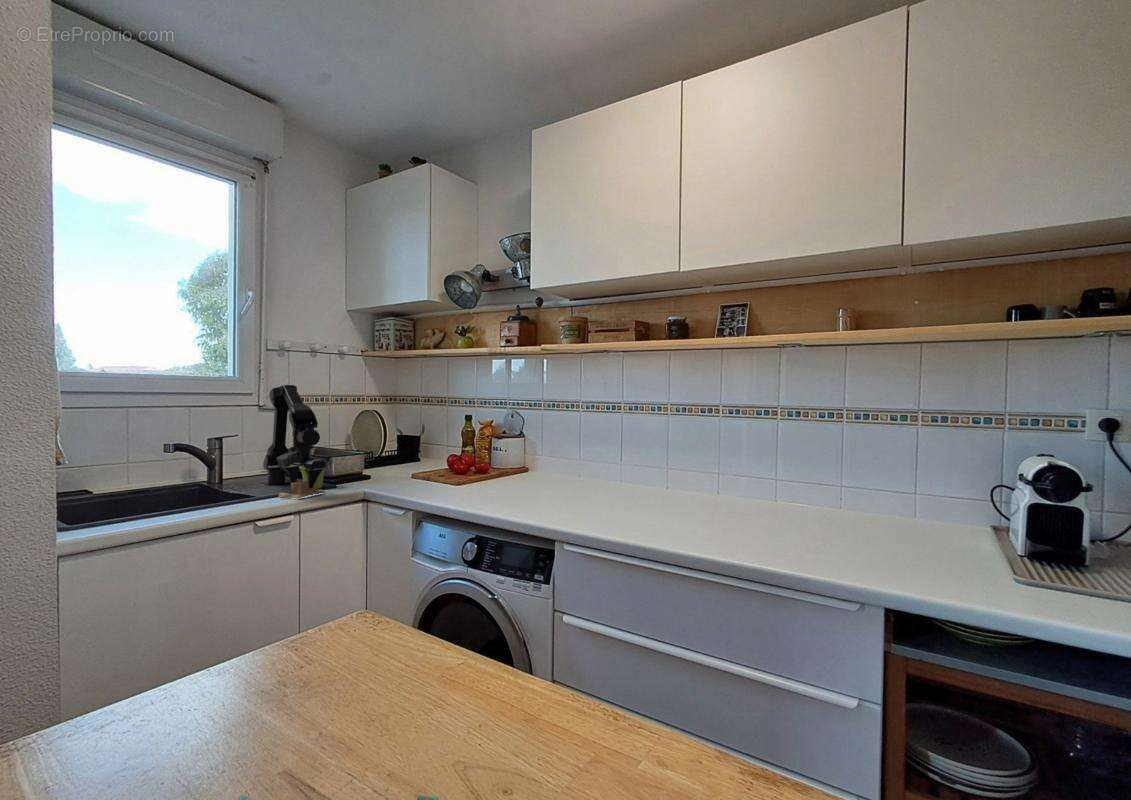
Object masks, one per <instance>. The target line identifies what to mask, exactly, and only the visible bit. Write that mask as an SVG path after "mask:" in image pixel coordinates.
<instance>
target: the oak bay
mask: <svg viewBox="0 0 1131 800" xmlns="http://www.w3.org/2000/svg"><path fill="white" fill-rule="evenodd" d="M319 493H325V494H326V490H324V489H319V488H318V489H313V492H311V493H306V494H301V495H295V494H291V493H286V492H278V498H279V497H283V498H282V499H287V498H297V499H298V498H301V497H305V496H308V495H313V494H319Z"/></svg>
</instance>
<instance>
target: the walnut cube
mask: <svg viewBox="0 0 1131 800" xmlns="http://www.w3.org/2000/svg"><path fill="white" fill-rule="evenodd" d="M311 492H313V488H309V483H308V481H303V480H300V481H296V482H294V483H291V482H290V494H295V495H301V494H306V493H311Z"/></svg>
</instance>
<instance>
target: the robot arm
mask: <svg viewBox="0 0 1131 800" xmlns="http://www.w3.org/2000/svg"><path fill="white" fill-rule="evenodd" d="M268 395H269V400H270V403H271V405H272V406H273V408H274V413H273V415H274V416H273V429H272V430H273V431H272V443H271V445H270V446H269V447H268V449H267V451H266V455H265V456H264V460H263V463H262V468H263V470H265V471H267V482H264V483H265V484H264V485H268V484H271V485H270V486H279V485H284V484H283V483H285V484H288V483H287V482H288V481H287V480H286V474H287V478H288V479H289V482H290V484H291V483H294V482H298V477H299V472H300V466H305V468H306V469H307V470H305V471H306V473H307V474H308V483H309V488H313V486H314V484H315V482H316V480H317V478H318V476H319V474H320V473H321V471H322V470H324V468H325V469H326V468H327V461H326V460H325V459H315V458H314V457H313V456H312V452H311V451H312V450H314V446H316V445H317V444H318V443H319V442H320V439H321V436H320V435H321V434H320V433H319V431H317V430H315V428H316V429H317V428H318V424H319V422H318V420H317V419H318V418H317V416H316V414H315V412H314V411H313V409H312V408H311V407H310V406H309V405H306V404H304V402H303V400H302V398H301V396H300V394H299V392H298V388H297V385H294V384H283V385H280V386H277V387H274V388H273V387H272V389H270V391H269V394H268ZM288 413H289V415H288ZM288 420H289V423H290V427H291V428H292V446H290V447H289V448H288V447H287V446H286V441H287V429H288ZM278 484H279V485H278Z"/></svg>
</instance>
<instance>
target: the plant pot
mask: <svg viewBox="0 0 1131 800" xmlns="http://www.w3.org/2000/svg"><path fill="white" fill-rule="evenodd" d="M299 466H300V465H299ZM299 470H300V472H301V475H302V481H308V474H307V473H306V471H305V470H307V469H306V468H305V466H300V468H299ZM325 470H326V468H324V470H322V471H321V473H320V474H319V476H318V478H317V480H316V482H315V484H314V486H313V489H318V490H319V489H322V488H321V487H323V481H324V475H325Z"/></svg>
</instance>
